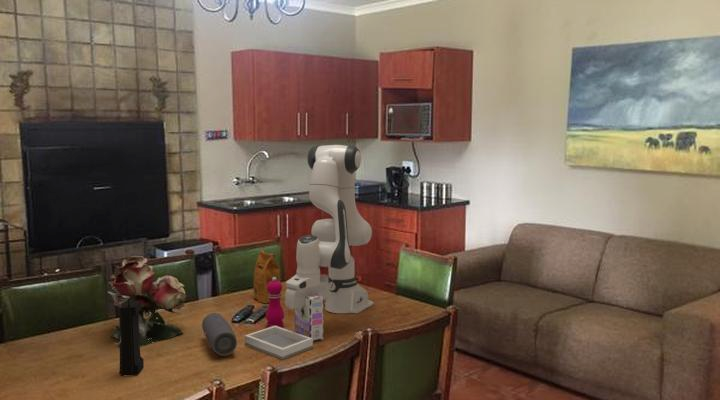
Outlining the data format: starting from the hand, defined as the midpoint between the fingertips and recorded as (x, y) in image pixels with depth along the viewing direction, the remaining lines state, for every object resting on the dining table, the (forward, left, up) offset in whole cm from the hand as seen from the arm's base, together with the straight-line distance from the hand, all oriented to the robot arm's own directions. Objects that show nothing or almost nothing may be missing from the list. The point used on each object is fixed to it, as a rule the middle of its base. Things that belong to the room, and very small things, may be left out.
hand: (308, 315), depth 230 cm
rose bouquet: (+40, -49, -8) cm, 63 cm away
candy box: (0, 0, -8) cm, 8 cm away
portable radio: (+61, -19, -8) cm, 64 cm away
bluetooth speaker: (+30, -15, -8) cm, 34 cm away
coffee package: (-19, -47, -8) cm, 51 cm away
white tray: (+15, 0, -8) cm, 17 cm away
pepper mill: (+2, -17, -8) cm, 19 cm away
